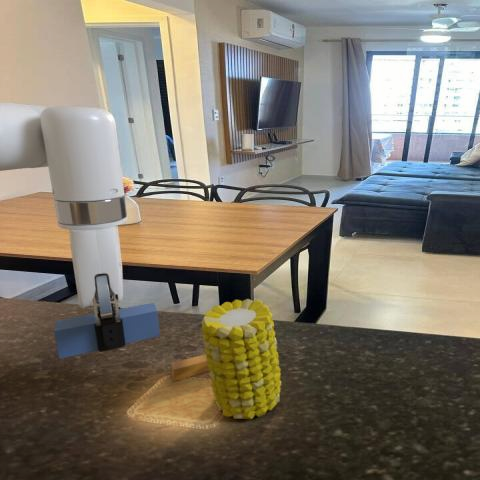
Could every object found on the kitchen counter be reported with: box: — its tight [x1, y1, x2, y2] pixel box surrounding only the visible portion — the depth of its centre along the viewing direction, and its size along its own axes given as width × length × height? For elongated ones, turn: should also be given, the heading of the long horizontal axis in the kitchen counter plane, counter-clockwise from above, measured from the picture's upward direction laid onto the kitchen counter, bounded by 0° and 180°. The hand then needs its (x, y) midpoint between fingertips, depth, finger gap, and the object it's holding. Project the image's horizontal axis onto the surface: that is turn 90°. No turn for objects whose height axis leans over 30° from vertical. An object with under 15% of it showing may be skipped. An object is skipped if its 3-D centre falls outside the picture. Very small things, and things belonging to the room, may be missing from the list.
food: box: [201, 298, 282, 420], centre depth 52 cm, size 15×12×10 cm
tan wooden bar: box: [170, 353, 210, 382], centre depth 61 cm, size 12×2×2 cm, turn 120°
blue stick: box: [53, 302, 161, 360], centre depth 52 cm, size 12×3×4 cm, turn 120°
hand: (111, 340), depth 53 cm, fingers closed on blue stick, 3 cm apart
